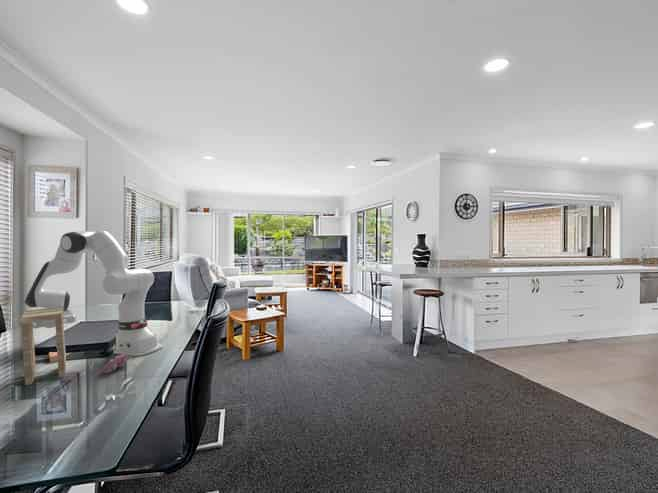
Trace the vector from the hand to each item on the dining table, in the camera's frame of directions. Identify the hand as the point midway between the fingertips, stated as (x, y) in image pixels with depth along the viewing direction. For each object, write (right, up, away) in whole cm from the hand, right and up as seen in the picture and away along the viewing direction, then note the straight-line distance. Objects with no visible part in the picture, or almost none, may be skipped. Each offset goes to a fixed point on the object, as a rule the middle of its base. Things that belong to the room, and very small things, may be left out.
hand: (49, 324), depth 161 cm
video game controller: (+45, -14, -20) cm, 51 cm away
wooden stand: (+20, -15, -25) cm, 35 cm away
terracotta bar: (+4, -14, -3) cm, 15 cm away
